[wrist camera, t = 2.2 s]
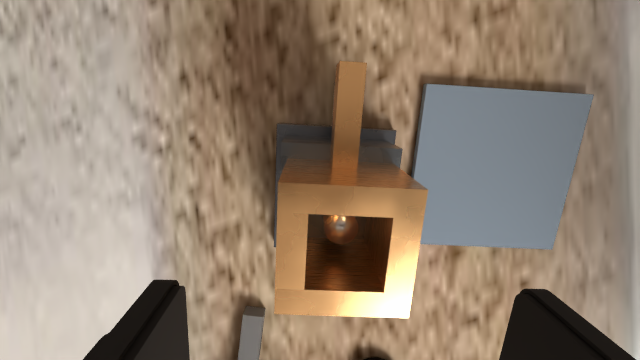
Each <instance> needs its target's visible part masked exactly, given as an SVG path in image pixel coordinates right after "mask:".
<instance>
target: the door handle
mask: <svg viewBox="0 0 640 360" xmlns="http://www.w3.org/2000/svg"><path fill="white" fill-rule="evenodd" d="M264 315H265V308H259V307H251V306H246V307H245V310H244V313H243V319H242V328H241V337H240V345H239V354H238V360H259V355H260V347H261V339H262V331H263V323H264ZM365 360H385V359H382V358H367V359H365Z"/></svg>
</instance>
